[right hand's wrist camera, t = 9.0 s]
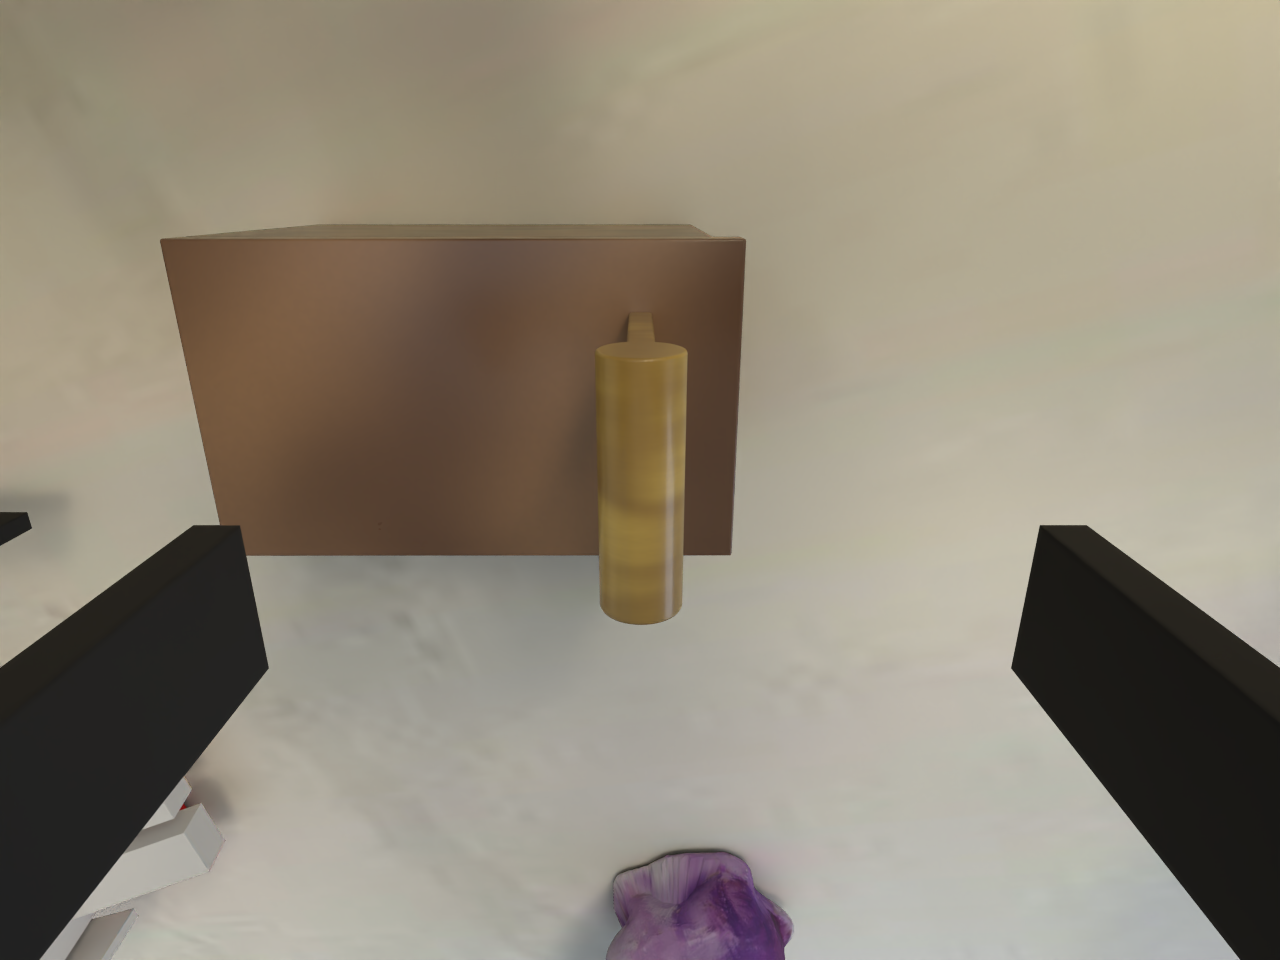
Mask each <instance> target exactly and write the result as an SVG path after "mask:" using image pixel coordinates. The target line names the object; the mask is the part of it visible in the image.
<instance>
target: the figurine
mask: <svg viewBox="0 0 1280 960" xmlns="http://www.w3.org/2000/svg"><path fill="white" fill-rule="evenodd" d="M613 889H614V890H613V891H614V894H613V895H614V897H613V898H614V900H613V901H614V903H613V904H614V910H615V913H616V915H617V917H618V920H619V922H620V924H621V926H622V929H621V930H620V931H619V932H618V933H617V935H616V936H615V937H614V939H613V941H612V943H611V944H610V946H609V948H608V951H607V955H606V960H785V955H784V947H785V946H786V944H787V943H788V942H789V941H790V940H791V938H792V935H793V932H794V925H793V922H792V919H791V918H790V917H789V915H788V914H787V913H786V912H785V911H784V910H783V909H781V908H780V907H779V906H778V905H776V904H775V903H774V902H772V901H771V900H769V899H767V898H766V897H765V896H763V895H762V894H760V893H759V892H758V891H757V890H756V889H755V888H754V884H753V878H752V874H751V870H750V868H749V867H748V865H747V864H746V863H745V862H744V861H743V860H742V859H739V858H737V857H735V856H733V855H731V854H730V853H726V852H715V853H682V854H675V855H666V856H665V857H663V858H661V859H658V860H656V861H654V862H652V863H650V864H649V865H648V866H644V867H641V868H635V869H633V870H628V871H626V872H624V873H621V874H619V875H617V876H616V879H615V880H614V883H613Z"/></svg>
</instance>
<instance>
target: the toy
mask: <svg viewBox="0 0 1280 960" xmlns="http://www.w3.org/2000/svg"><path fill="white" fill-rule="evenodd" d="M191 790H192V788H191V786H190V785H189V783H188V782H187V780H186V779H185V777H183V778H182V779H181V781H180V782H179V783H178V784H177V786H176V787H175V788H174V789H173V791H172V792H171V793H170V795H169V796H168V797H167V798H166V800H165V801H164V802H163V803H162V805H161V806H160V807H159V809H158V810H157V811H156V812H155V814H154V815H153V816H152V817H151V819H150V820H149V821H148V823H147V824H146V825H145V826H144V828H143V829H142V830H141V831H140V833H139V834H138V835H137V837H136V838H135V839H134V840H133V842H132V843H131V844H130V845H129V847H128V848H127V849H126V851H125V852H124V853H123V854H122V856H121V857H120V858H119V859H118V861H117V862H116V863H115V865H114V866H113V867H112V868H111V870H110V871H109V872H108V873H107V875H106V876H105V877H104V879H103V880H102V881H101V882H100V884H99V885H98V886H97V887H96V889H95V890H94V891H93V893H92V894H91V895H90V896H89V898H88V899H87V900H86V901H85V903H84V904H83V905H82V907H81V908H80V909H79V910H78V912H77V913H76V914H75V915H74V917H73V918H72V919H71V921H70V922H69V923H68V924H67V926H66V927H65V928H64V929H63V931H62V932H61V933H60V934H59V936H58V937H57V938H56V940H55V941H54V942H53V943H52V945H51V946H50V947H49V948H48V950H47V951H46V952H45V954H44V955H43V956H42V957H41V959H40V960H111V958H112V957H113V955H114V954H115V952H116V950H117V949H118V947H119V946H120V944H121V942H122V941H123V939H124V938H125V936H126V934H127V933H128V931H129V930H130V928H131V927H132V925H133V923H134V922H135V920H136V919H137V917H138V914H137V912H136V911H135V909H134V908H133V909H130V910H126V911H122V912H118V913H114V914H110V915H107V916H103V917H99V918H95V919H92V918H93V916H94V914H95V913H96V911H99V910H102V909H104V908H107V907H110V906H113V905H116V904H119V903H122V902H124V901H127V900H130V899H133V898H136V897H139V896H141V895H144V894H147V893H150V892H153V891H156V890H159V889H161V888H164V887H167V886H170V885H173V884H176V883H179V882H181V881H184V880H187V879H190V878H193V877H196V876H199V875H201V874H204V873H207V872H209V871H210V869H211V867H212V865H213V863H214V862H215V860H216V858H217V856H218V854H219V852H220V850H221V848H222V846H223V844H224V842H225V839H224V838H223V836H222V835H221V833H220V831H219V830H218V828H217V827H216V825H215V824H214V822H213V821H212V819H211V817H210V816H209V814H208V813H207V811H206V810H205V808H204V807H203V805H202V803H200V804H197V805H194V806H191V807H188V808H186V806H185V805H184V802H185V800H186V798H187V797H188V795H189V794H190V792H191Z"/></svg>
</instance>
